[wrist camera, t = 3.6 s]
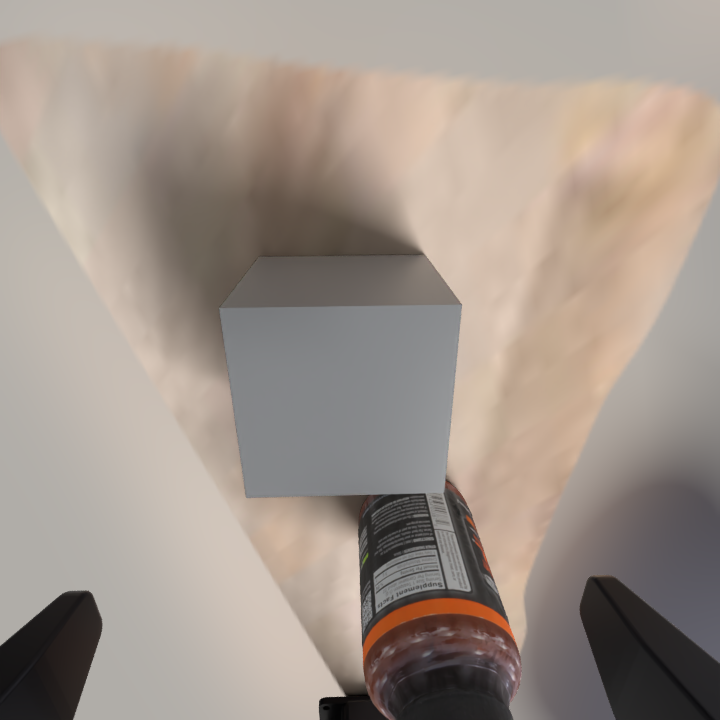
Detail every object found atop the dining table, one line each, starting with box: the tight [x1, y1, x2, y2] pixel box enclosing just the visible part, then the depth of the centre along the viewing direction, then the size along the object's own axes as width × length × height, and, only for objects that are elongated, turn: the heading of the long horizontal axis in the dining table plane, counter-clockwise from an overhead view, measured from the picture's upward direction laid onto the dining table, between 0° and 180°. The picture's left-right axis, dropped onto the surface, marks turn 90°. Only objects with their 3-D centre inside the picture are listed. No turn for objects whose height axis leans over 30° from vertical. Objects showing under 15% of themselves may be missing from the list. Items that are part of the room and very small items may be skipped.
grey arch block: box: [219, 255, 462, 498], centre depth 17 cm, size 7×7×6 cm
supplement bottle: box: [358, 481, 522, 720], centre depth 20 cm, size 6×6×11 cm
